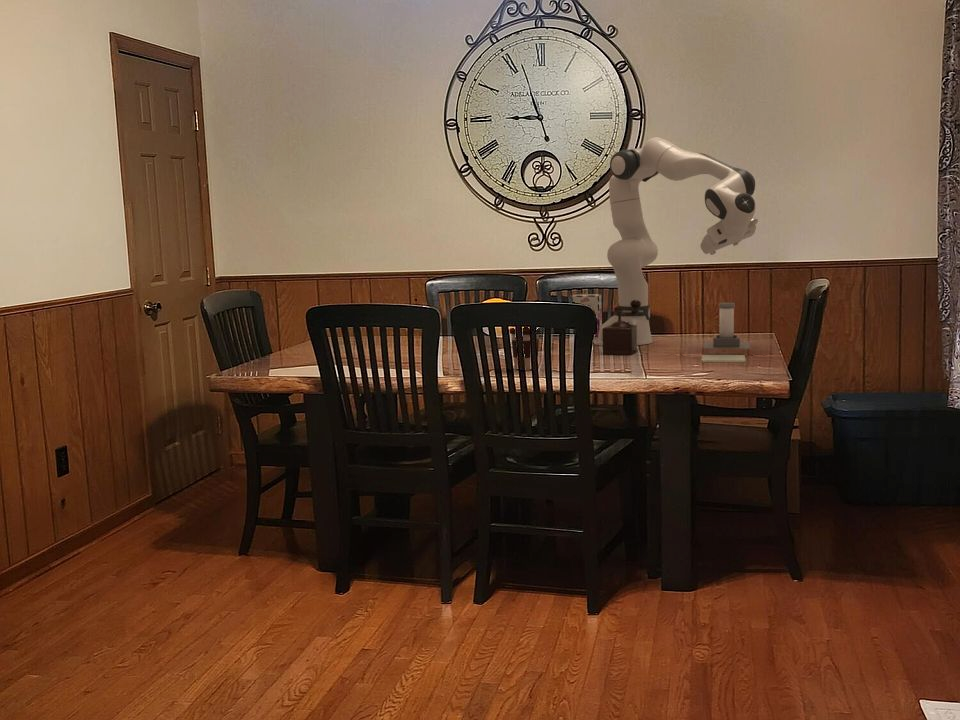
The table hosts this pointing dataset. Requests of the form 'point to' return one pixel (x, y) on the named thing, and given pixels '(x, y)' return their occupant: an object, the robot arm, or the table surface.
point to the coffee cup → (526, 346)
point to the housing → (727, 343)
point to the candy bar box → (592, 301)
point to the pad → (723, 357)
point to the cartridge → (726, 320)
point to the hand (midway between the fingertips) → (723, 248)
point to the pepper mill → (621, 334)
